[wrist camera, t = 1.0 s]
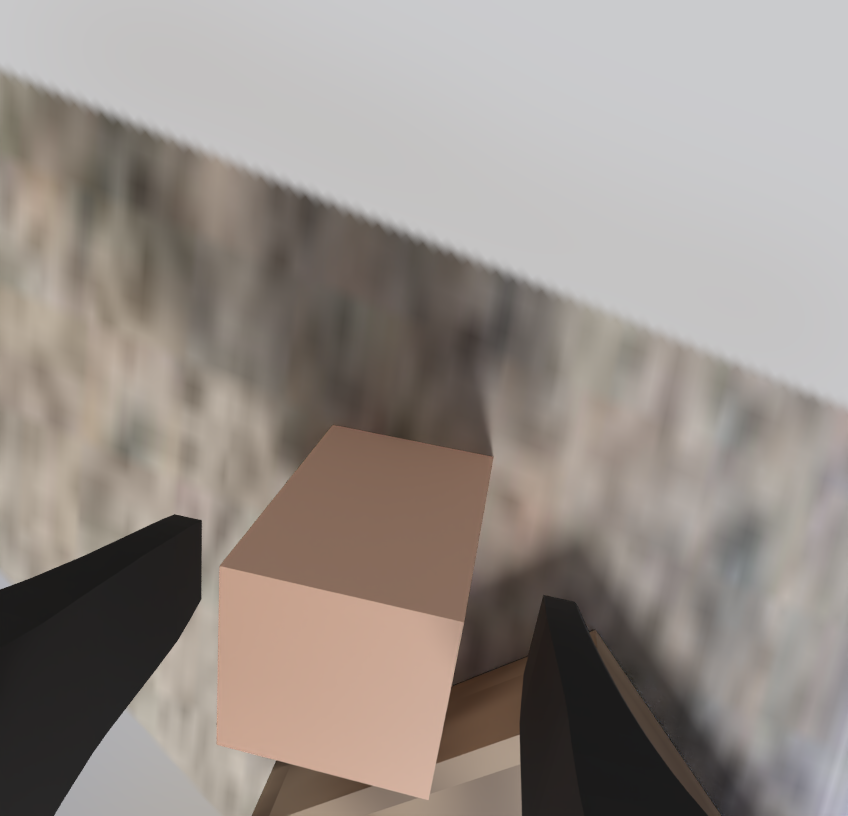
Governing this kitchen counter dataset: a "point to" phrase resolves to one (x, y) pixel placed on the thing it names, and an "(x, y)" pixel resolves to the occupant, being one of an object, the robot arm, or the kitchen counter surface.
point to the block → (352, 610)
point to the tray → (462, 759)
